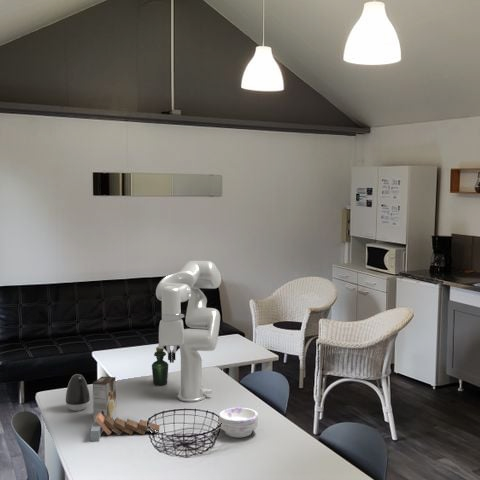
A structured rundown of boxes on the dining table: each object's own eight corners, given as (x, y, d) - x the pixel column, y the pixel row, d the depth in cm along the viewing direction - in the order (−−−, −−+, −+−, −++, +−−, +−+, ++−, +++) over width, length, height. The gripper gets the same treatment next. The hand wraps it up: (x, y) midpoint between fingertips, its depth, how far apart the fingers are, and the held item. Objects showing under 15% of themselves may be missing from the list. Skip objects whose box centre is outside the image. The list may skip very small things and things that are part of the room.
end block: (104, 426, 242) (103, 416, 242) (98, 441, 228) (98, 430, 228) (96, 426, 242) (96, 417, 242) (90, 441, 228) (90, 431, 228)
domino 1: (112, 427, 238) (100, 412, 237) (111, 432, 233) (98, 417, 232) (109, 430, 238) (97, 414, 237) (108, 435, 233) (95, 419, 232)
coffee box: (102, 412, 257) (101, 375, 256) (116, 413, 256) (116, 376, 254) (93, 420, 248) (92, 382, 247) (107, 422, 247) (107, 383, 246)
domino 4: (146, 426, 239) (127, 418, 238) (145, 431, 234) (126, 423, 233) (144, 429, 239) (126, 422, 238) (143, 434, 234) (124, 427, 233)
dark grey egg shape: (72, 415, 255) (71, 379, 253) (61, 408, 262) (60, 374, 261) (94, 409, 261) (93, 374, 260) (83, 402, 269) (82, 369, 268)
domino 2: (123, 427, 238) (107, 414, 237) (121, 432, 233) (105, 419, 232) (120, 430, 238) (104, 417, 237) (119, 435, 233) (103, 422, 232)
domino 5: (159, 425, 239) (140, 419, 238) (159, 430, 235) (139, 424, 234) (158, 429, 240) (138, 423, 239) (157, 434, 235) (138, 428, 234)
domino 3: (134, 426, 239) (116, 417, 238) (133, 431, 234) (115, 422, 233) (132, 430, 239) (114, 420, 238) (131, 435, 234) (113, 425, 233)
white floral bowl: (238, 422, 247) (238, 403, 246) (266, 433, 236) (266, 413, 235) (210, 433, 236) (210, 413, 235) (238, 444, 225) (238, 424, 224)
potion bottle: (161, 388, 289) (160, 351, 287) (148, 385, 293) (147, 348, 292) (172, 383, 296) (171, 347, 294) (159, 380, 300) (158, 345, 299)
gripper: (189, 314, 248) (190, 358, 250) (153, 315, 247) (153, 359, 248) (189, 318, 241) (190, 364, 242) (152, 319, 239) (152, 365, 241)
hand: (171, 361), depth 245 cm, fingers closed
